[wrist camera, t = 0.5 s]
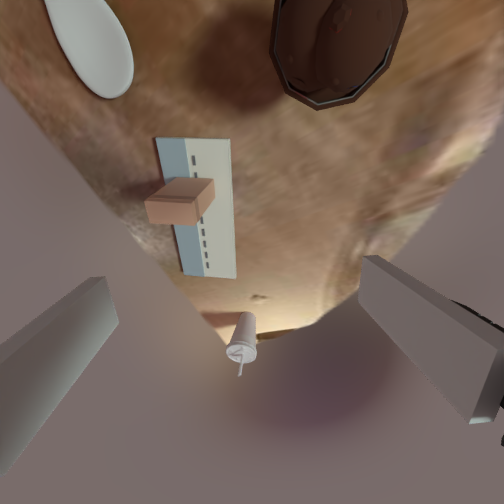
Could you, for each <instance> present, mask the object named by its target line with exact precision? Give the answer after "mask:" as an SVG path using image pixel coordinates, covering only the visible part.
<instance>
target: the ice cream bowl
mask: <svg viewBox="0 0 504 504" xmlns="http://www.w3.org/2000/svg"><path fill="white" fill-rule="evenodd" d="M407 15H408V7H407V1H406V0H275V4H274V12H273V21H272V30H271V39H270V48H269V54H270V57H271V59H272V62H273V64H274V67H275V69H276V71H277V74H278V76H279V79H280V81H281V84H282V86H283V88H284V91H285V93H286V94H288V95H289V96H291V97H293V98H295V99H297V100H298V101H300V102H302V103H304V104H306V105H307V106H309V107H311V108H313V109H314V110H316V111H318V110H322V109H327V108H331V107H335V106H340V105H344V104H349V103H353V102H355V101H356V100H357V99H358V98H359V97H360V96H361V95H362V94H363V93H364V92H365V91H366V90H367V89H368V88H369V87H370V86H371V85H372V84H373V83H374V82H375V81H376V80H377V79H378V78H379V77H380V76H381V75H382V74H383V73H384V72H385V71H386V70H387V69H388V68H389V66H390V63H391V61H392V58H393V55H394V52H395V49H396V46H397V43H398V40H399V38H400V35H401V32H402V29H403V26H404V23H405V20H406V17H407Z"/></svg>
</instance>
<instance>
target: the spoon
mask: <svg viewBox="0 0 504 504" xmlns="http://www.w3.org/2000/svg"><path fill="white" fill-rule="evenodd" d="M44 1H45V4H46V7H47V10H48V14H49V17H50V20H51V23H52V26H53V29H54V32H55V34H56V37H57V39H58V41H59V43H60V45H61V47H62V49H63V51H64V53H65V55H66V57H67V58H68V60H69V62H70V63H71V65H72V67H73V68H74V70H75V72H76V73H77V75H78V76H79V77H80V79H81V80H82V81H83V82H84V83H85V84H86V86H87V87H89V88H90V89H91V90H92V91H93V92H94V93H96V94H97V95H99V96H101V97H103V98H110V99H111V98H116V97H119V96H121V95H122V94H124V93H125V92H126V91H127V90H128V88H129V87H130V85H131V83H132V79H133V73H134V63H133V56H132V51H131V48H130V44H129V41H128V38H127V36H126V34H125V32H124V29H123V28H122V26H121V24H120V22H119V21H118V19H117V17H116V16H115V14H114V13H113V11H112V10H111V9H110V7H109V6H108V5H107V3H106V2H105V1H104V0H44Z"/></svg>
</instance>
